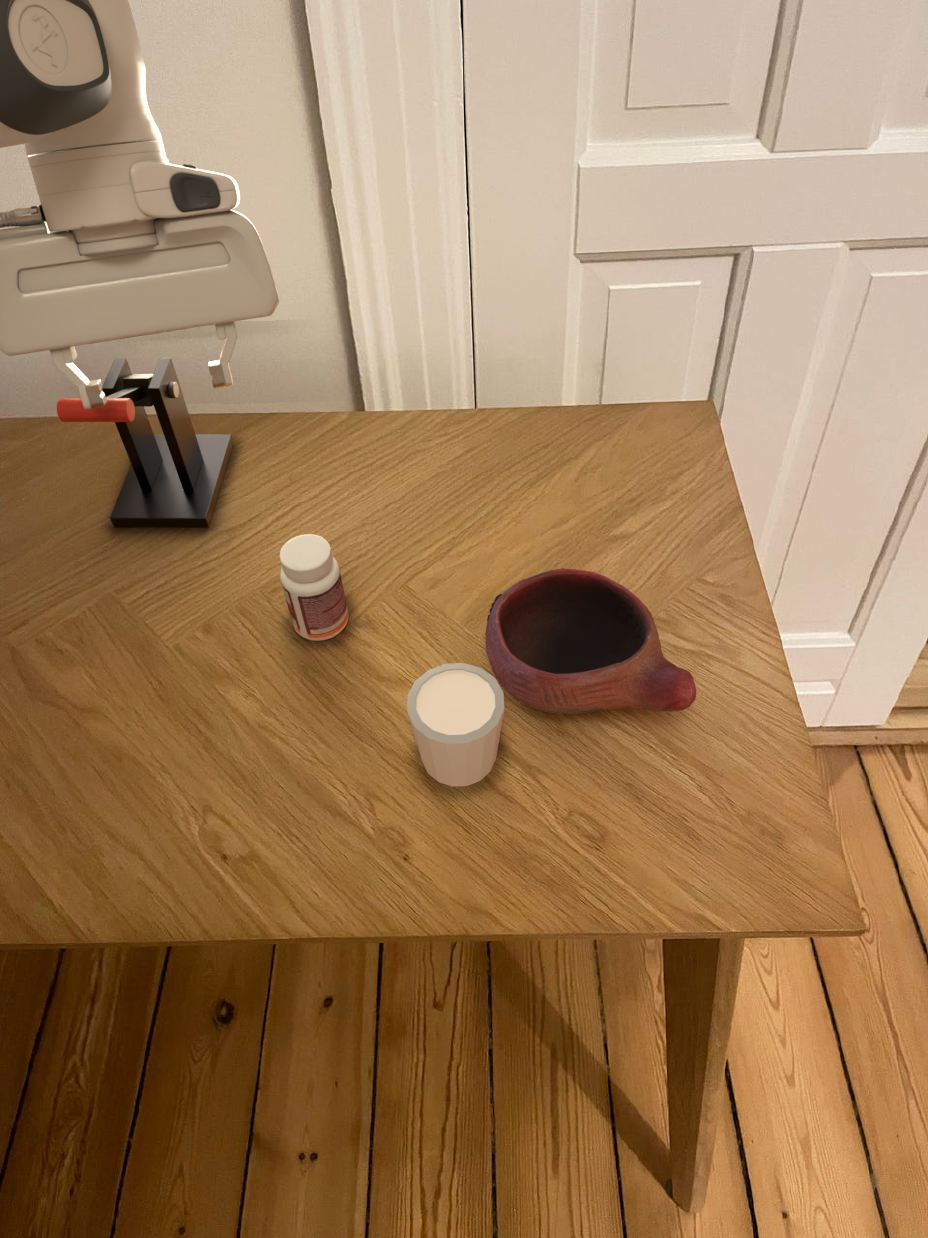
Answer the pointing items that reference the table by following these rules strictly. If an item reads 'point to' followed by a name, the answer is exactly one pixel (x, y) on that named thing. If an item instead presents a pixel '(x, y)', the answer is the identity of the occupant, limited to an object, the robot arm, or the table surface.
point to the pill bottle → (313, 587)
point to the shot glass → (456, 722)
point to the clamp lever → (110, 403)
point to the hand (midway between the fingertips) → (160, 396)
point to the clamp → (166, 458)
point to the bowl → (581, 647)
